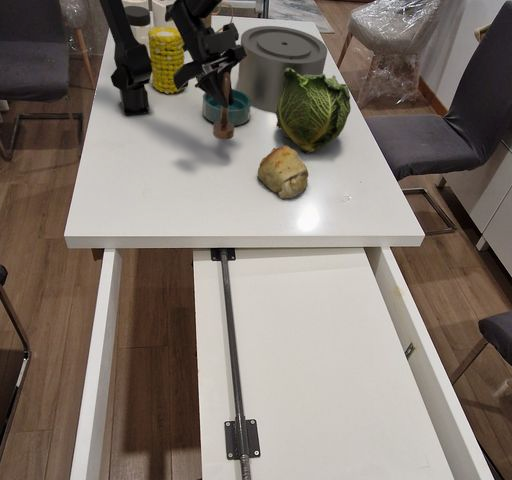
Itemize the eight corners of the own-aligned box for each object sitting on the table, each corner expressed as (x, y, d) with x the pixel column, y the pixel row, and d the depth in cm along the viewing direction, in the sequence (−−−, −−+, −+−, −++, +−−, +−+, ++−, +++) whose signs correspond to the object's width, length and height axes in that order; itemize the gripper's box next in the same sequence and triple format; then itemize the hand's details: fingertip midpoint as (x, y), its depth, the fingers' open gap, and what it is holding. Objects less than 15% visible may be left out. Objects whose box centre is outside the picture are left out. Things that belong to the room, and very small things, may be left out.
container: (245, 113, 122) (250, 61, 111) (231, 73, 135) (233, 23, 124) (326, 114, 127) (338, 64, 116) (304, 75, 140) (313, 28, 130)
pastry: (259, 162, 108) (263, 131, 101) (307, 170, 108) (314, 140, 102) (253, 195, 100) (257, 163, 93) (305, 203, 100) (313, 173, 94)
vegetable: (318, 158, 125) (342, 82, 117) (345, 166, 109) (376, 78, 100) (256, 138, 118) (277, 56, 110) (275, 144, 102) (301, 47, 94)
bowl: (212, 130, 114) (212, 113, 111) (196, 106, 121) (196, 89, 117) (256, 125, 118) (258, 108, 115) (238, 102, 125) (240, 86, 121)
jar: (132, 64, 131) (127, 17, 121) (121, 53, 135) (115, 6, 125) (159, 60, 135) (155, 14, 125) (147, 49, 138) (144, 4, 128)
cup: (171, 51, 139) (169, -5, 127) (185, 60, 137) (184, 3, 125) (153, 55, 136) (149, -2, 124) (167, 64, 134) (164, 7, 121)
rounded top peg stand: (222, 142, 100) (226, 79, 89) (208, 132, 101) (210, 70, 90) (237, 135, 102) (243, 74, 91) (223, 126, 104) (227, 65, 93)
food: (159, 101, 123) (153, 87, 128) (197, 90, 124) (190, 76, 129) (140, 41, 110) (135, 28, 116) (183, 29, 111) (176, 17, 117)
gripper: (181, 17, 79) (223, 102, 85) (244, -1, 88) (277, 77, 94) (155, 50, 87) (194, 125, 93) (214, 30, 97) (247, 100, 103)
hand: (229, 106), depth 96 cm, fingers closed on rounded top peg stand
